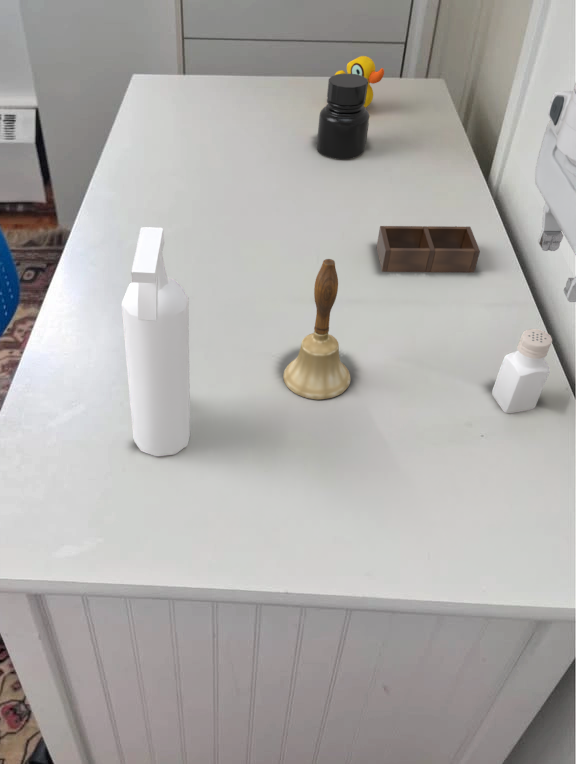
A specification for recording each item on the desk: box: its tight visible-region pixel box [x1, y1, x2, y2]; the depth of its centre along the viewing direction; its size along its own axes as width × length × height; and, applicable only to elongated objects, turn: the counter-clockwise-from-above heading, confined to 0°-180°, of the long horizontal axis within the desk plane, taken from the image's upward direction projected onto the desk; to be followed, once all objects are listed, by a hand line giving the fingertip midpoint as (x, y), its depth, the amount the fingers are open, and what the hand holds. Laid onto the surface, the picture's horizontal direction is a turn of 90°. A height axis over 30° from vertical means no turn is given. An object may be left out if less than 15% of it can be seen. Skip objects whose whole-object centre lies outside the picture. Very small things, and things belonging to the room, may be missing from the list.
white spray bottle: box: [121, 226, 191, 457], centre depth 74 cm, size 7×12×25 cm, turn 175°
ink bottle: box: [316, 73, 370, 160], centre depth 129 cm, size 10×9×12 cm
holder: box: [376, 225, 481, 274], centre depth 104 cm, size 13×7×5 cm, turn 88°
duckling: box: [334, 55, 385, 109], centre depth 142 cm, size 11×5×10 cm, turn 46°
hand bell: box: [282, 258, 351, 400], centre depth 83 cm, size 8×8×16 cm
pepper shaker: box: [491, 328, 553, 414], centre depth 82 cm, size 4×4×10 cm
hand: (559, 271), depth 73 cm, fingers open, 8 cm apart
